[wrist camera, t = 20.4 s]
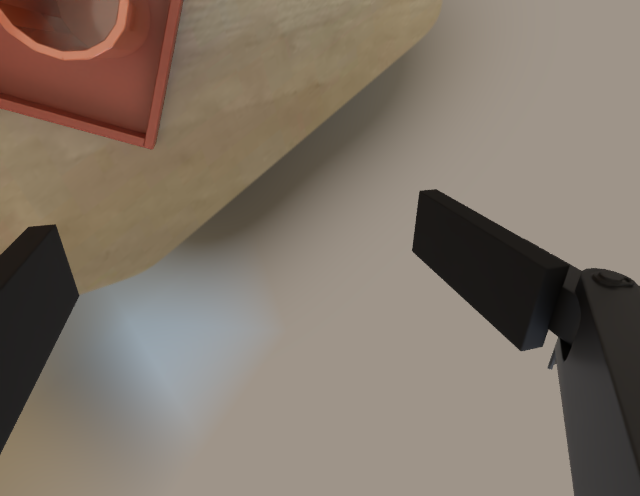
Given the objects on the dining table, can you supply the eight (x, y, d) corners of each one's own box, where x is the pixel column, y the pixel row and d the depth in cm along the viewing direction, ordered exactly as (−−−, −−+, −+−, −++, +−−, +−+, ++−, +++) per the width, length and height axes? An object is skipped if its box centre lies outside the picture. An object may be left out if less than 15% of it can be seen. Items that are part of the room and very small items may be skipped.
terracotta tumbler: (158, -19, 31) (137, -57, 20) (143, 71, 33) (117, 78, 23) (56, -63, 28) (-27, -132, 18) (47, 38, 30) (-30, 30, 20)
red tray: (190, -35, 31) (189, -41, 29) (155, 144, 36) (152, 149, 34) (-81, -159, 25) (-109, -180, 23) (-77, 79, 30) (-99, 81, 28)
